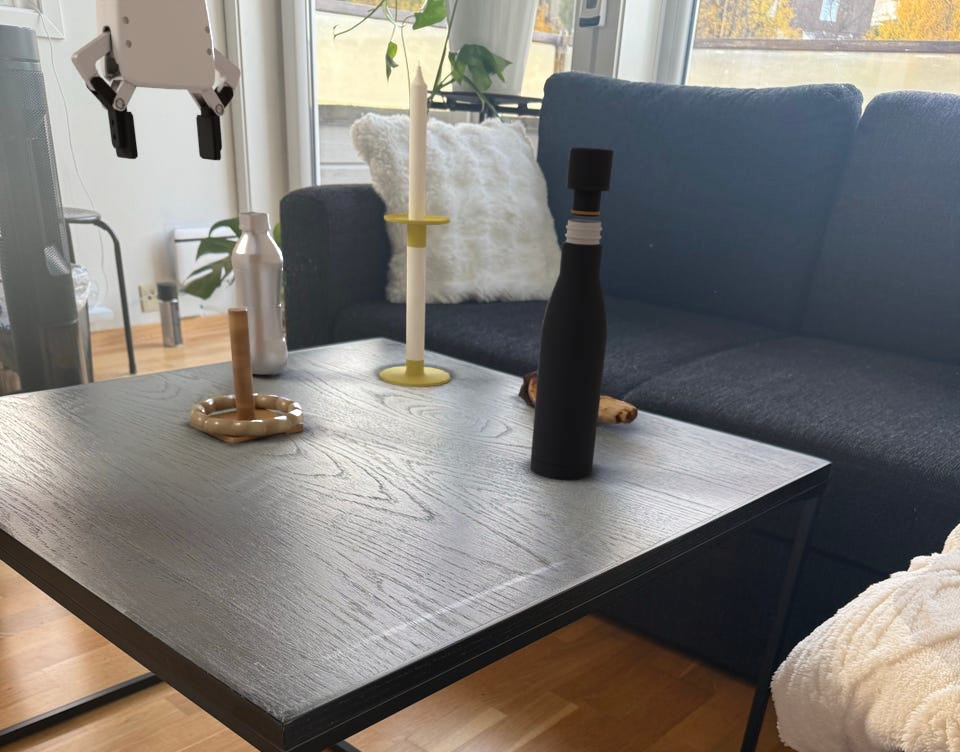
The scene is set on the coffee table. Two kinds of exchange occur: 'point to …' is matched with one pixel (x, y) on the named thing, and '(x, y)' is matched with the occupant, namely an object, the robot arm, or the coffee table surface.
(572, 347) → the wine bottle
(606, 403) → the brown oblong lump
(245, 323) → the stand
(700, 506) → the coffee table surface
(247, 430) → the ring
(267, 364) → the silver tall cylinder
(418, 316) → the candle
